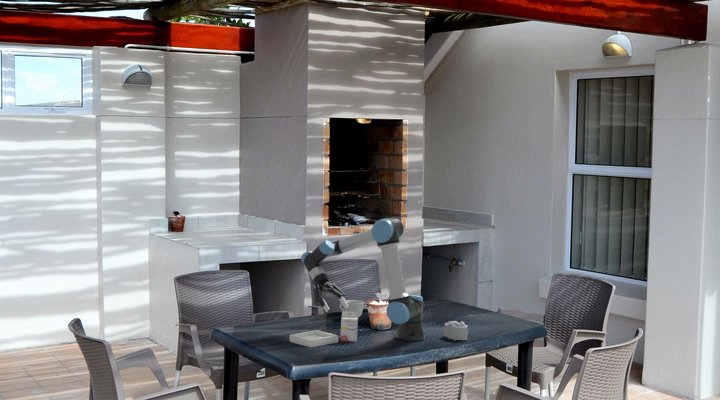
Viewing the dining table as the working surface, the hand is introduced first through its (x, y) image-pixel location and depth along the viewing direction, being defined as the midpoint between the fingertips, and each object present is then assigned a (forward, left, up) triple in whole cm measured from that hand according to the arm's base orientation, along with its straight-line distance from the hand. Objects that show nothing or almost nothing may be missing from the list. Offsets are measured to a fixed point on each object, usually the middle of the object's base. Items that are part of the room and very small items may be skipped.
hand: (337, 309), depth 469 cm
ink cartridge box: (-9, 0, -15) cm, 18 cm away
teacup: (+30, -40, -15) cm, 52 cm away
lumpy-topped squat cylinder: (-40, -50, -15) cm, 66 cm away
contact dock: (-1, +17, -15) cm, 22 cm away
